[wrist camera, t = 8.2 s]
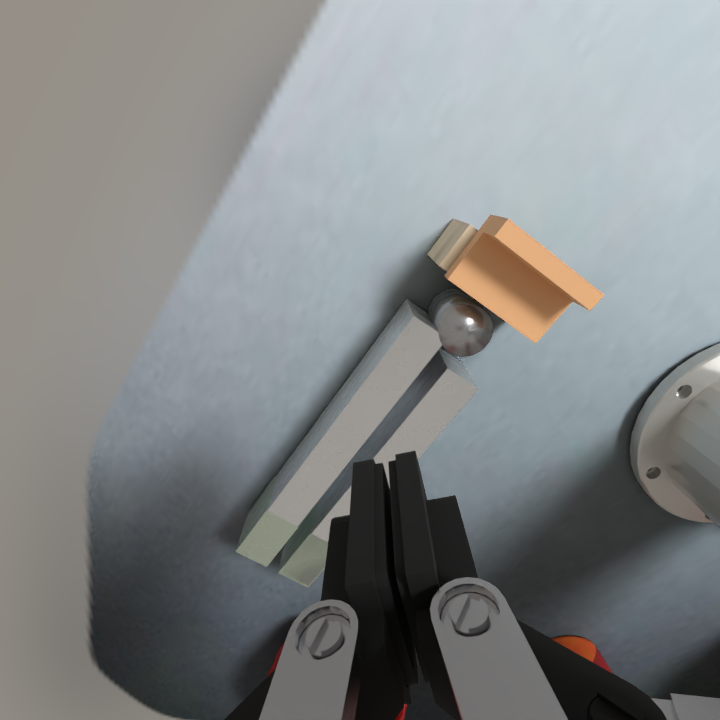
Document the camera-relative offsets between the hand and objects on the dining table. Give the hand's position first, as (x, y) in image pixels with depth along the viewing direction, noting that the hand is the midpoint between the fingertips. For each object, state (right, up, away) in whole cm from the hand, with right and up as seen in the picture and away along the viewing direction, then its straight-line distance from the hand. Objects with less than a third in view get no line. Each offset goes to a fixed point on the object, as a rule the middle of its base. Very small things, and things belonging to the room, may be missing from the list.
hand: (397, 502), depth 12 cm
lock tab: (+6, +7, +9) cm, 13 cm away
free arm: (-1, 0, +15) cm, 15 cm away
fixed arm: (0, -2, +16) cm, 17 cm away
